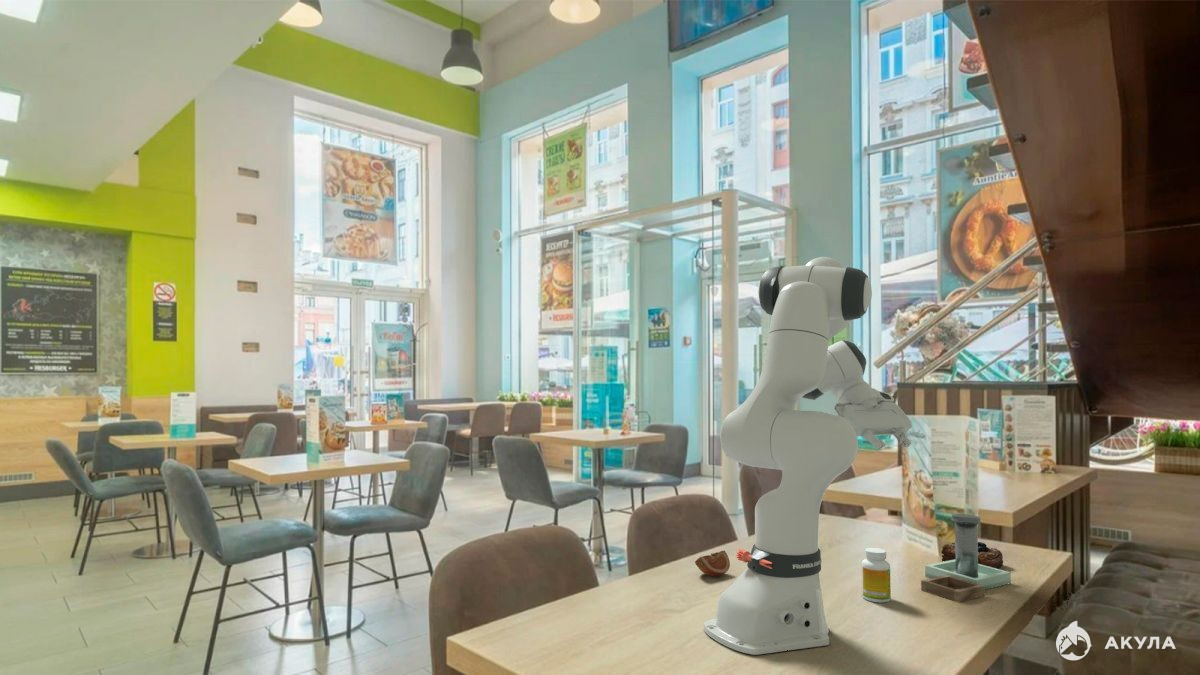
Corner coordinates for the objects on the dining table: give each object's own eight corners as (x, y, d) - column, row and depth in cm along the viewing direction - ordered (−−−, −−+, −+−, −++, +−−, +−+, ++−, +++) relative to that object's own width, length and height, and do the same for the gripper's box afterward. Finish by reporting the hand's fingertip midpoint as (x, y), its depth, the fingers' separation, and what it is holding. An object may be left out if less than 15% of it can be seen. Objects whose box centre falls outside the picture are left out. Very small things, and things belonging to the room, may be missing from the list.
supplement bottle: (893, 604, 135) (892, 554, 135) (864, 602, 136) (864, 552, 136) (887, 595, 140) (887, 547, 141) (860, 593, 141) (859, 546, 142)
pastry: (962, 555, 171) (961, 532, 171) (1011, 568, 161) (1010, 542, 161) (935, 562, 165) (935, 537, 166) (984, 575, 155) (984, 549, 155)
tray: (976, 592, 142) (976, 580, 142) (925, 576, 153) (925, 565, 153) (1010, 583, 148) (1010, 572, 148) (959, 569, 159) (958, 558, 159)
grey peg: (971, 581, 147) (969, 520, 147) (947, 574, 152) (946, 515, 152) (987, 577, 149) (985, 518, 150) (963, 571, 154) (962, 513, 155)
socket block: (958, 602, 136) (958, 592, 136) (921, 590, 144) (921, 580, 144) (984, 595, 140) (984, 585, 140) (946, 584, 147) (946, 574, 148)
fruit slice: (709, 582, 148) (709, 559, 148) (687, 575, 153) (687, 552, 154) (735, 575, 153) (735, 553, 153) (713, 568, 159) (713, 546, 159)
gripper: (838, 394, 165) (871, 439, 156) (895, 394, 175) (930, 436, 166) (824, 412, 169) (856, 456, 160) (881, 411, 178) (914, 453, 169)
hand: (894, 446), depth 163 cm, fingers open, 8 cm apart
